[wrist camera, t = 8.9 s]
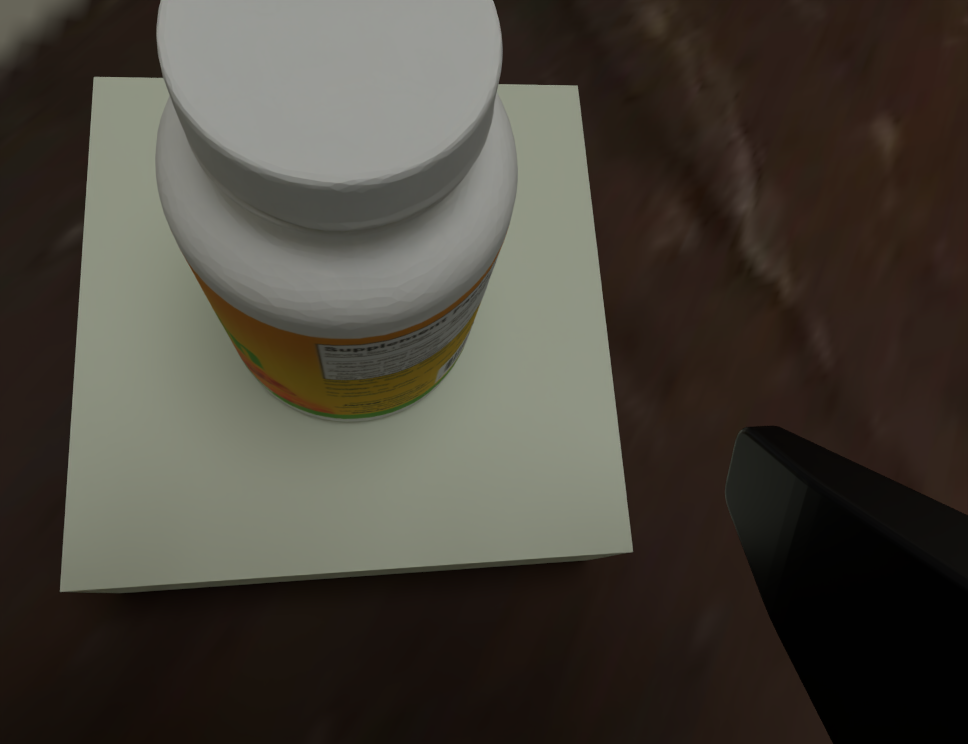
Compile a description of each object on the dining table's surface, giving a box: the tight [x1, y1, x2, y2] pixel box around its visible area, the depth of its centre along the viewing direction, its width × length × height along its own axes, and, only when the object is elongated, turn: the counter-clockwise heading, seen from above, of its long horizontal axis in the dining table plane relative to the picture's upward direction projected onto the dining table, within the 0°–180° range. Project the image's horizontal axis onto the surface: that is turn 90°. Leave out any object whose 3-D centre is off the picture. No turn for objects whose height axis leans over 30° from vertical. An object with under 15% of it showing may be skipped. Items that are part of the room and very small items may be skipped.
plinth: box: [60, 77, 633, 593], centre depth 20 cm, size 12×12×4 cm
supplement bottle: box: [155, 0, 518, 422], centre depth 14 cm, size 5×5×10 cm
